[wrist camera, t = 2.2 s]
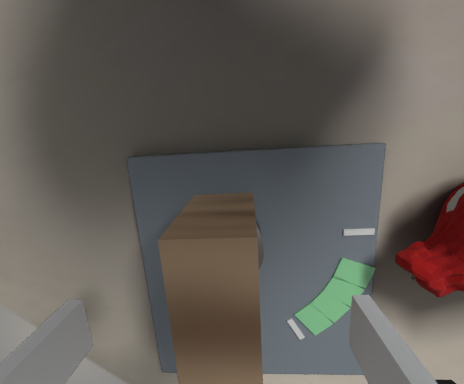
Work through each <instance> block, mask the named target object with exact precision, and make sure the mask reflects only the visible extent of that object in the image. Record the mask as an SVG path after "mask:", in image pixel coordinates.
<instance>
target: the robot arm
mask: <svg viewBox="0 0 464 384" xmlns="http://www.w3.org/2000/svg"><path fill="white" fill-rule="evenodd" d="M349 345H350V347H351V349H352V351H353V353H354V355H355V357H356V359H357V361H358V363H359V365H360V368H361V370H362V372H363V374H364V376H365V378H366V380H367V382H368V384H456V383H455V382H453V381H452V380H434V378H433V377H432V376H431V374H430V373H429V372H428V371H427V369H426V368H425V367H424V365H423V364H422V363H421V361H420V360H419V359H418V358H417V356H416V355H415V354H414V352H413V351H412V350H411V349H410V347H409V346H408V345H407V343H406V342H405V341H404V339H403V338H402V337H401V336H400V334H399V333H398V332H397V330H396V329H395V328H394V327H393V325H392V324H391V323H390V321H389V320H388V319H387V318H386V316H385V315H384V314H383V312H382V311H381V310H380V308H379V307H378V306H377V305H376V303H375V302H374V301H373V299H372V298H371V297H370V296H369V295H352V303H351V318H350V334H349ZM92 346H93V342H92V338H91V333H90V329H89V325H88V321H87V316H86V312H85V308H84V303H83V300H67V301H66V302H65V303H64V304H63V305H62V306H61V307H60V308H59V309H58V310H57V311H56V312H55V313H53V314H52V315H51V316H50V317H49V318H48V319H47V320H46V321H45V322H44V323H43V324H42V325H41V326H40V327H38V328H37V329H36V331H34V332H33V333H32V334H31V335H30V336H29V337H28V338H27V339H26V340H25V341H23V342H22V344H20V345H19V346H18V347H17V348H16V349H15V350H14V351H13V352H12V353H11V354H10V355H9V356H7V357H6V359H4V360H3V361H2V362H1V363H0V384H65V383H66V382H67V380H68V379H69V378H70V376H71V375H72V374H73V372H74V371H75V369H76V368H77V367H78V365H79V364H80V362H81V361H82V360H83V358H84V357H85V356H86V354H87V353H88V351H89V350H90V349H91V347H92Z"/></svg>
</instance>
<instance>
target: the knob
mask: <svg viewBox="0 0 464 384" xmlns="http://www.w3.org/2000/svg"><path fill="white" fill-rule="evenodd" d="M158 245H159V252H160V259H161V265H162V272H163V279H164V286H165V292H166V299H167V306H168V313H169V319H170V326H171V333H172V340H173V347H174V353H175V360H176V367H177V374H178V380H179V384H263V375H262V347H261V320H260V292H259V269H260V267H261V265H262V262H263V258H264V249H263V242H262V235H261V229H260V226H259V224H258V222H257V220H256V217H255V207H254V197H253V192H249V193H226V194H203V195H194V196H193V197H192V199H191V200H190V201H189V202H188V203H187V205H186V206H185V207H184V208H183V210H182V211H181V212H180V213H179V215H178V216H177V217H176V218H175V219H174V221H173V222H172V223H171V224H170V226H169V227H168V228H167V229H166V230H165V232H164V233H163V234H162V235H161V237H160V238H159V239H158Z"/></svg>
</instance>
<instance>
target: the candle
mask: <svg viewBox="0 0 464 384" xmlns="http://www.w3.org/2000/svg"><path fill="white" fill-rule="evenodd" d="M395 262H396V263H397V264H398V265H399V266H400V267H402V268H403V269H405V270H406V271H408V272H409V273H411V274H413V276H412V278H411V279H413V280H414V279H415V278H416V281H417V282H418V283H419V285H420V286H422V287H423V288H425V289H426V290H428V291H429V292H431V293H433V294H435V296H437V297H443V296H445V295H447V294H449V293H451V292H453V291H455V290H459V291H464V183H462V184H461V185H460V186H458V187H457V188H456V189H455V190H454V191H453V192H452V193H451V194H450V195H449V197H448V198H447V200H446V201H445V203H444V205H443V206H442V209H441V212H440V215H439V217H438V220H437V223H436V225H435V228H434V231H433V233H432V234H431V236H430V237H429V238H428V239H427V240H425V241H424V242H421V241H417V242H415V243H413V244H412V245H410V246H409V247H408V248H406V249H404V250H402V251H400V252H397V254H396V256H395Z"/></svg>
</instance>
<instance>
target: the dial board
mask: <svg viewBox="0 0 464 384" xmlns="http://www.w3.org/2000/svg"><path fill="white" fill-rule="evenodd" d="M385 147H386V144H385V143H364V144H346V145H328V146H310V147H293V148H275V149H257V150H239V151H221V152H203V153H185V154H167V155H149V156H133V157H128V158H126V160H127V166H128V172H129V178H130V184H131V190H132V196H133V202H134V208H135V214H136V220H137V226H138V232H139V238H140V244H141V250H142V256H143V262H144V268H145V274H146V280H147V286H148V292H149V298H150V304H151V310H152V315H153V321H154V327H155V333H156V339H157V345H158V351H159V357H160V363H161V369H162V372H168V373H177V367H176V360H175V353H174V347H173V340H172V333H171V326H170V319H169V313H168V306H167V299H166V292H165V286H164V279H163V272H162V265H161V259H160V252H159V245H158V239H159V238H160V237H161V235H162V234H163V233H164V232H165V230H166V229H167V228H168V227H169V226H170V224H171V223H172V222H173V221H174V219H175V218H176V217H177V216H178V215H179V213H180V212H181V211H182V210H183V208H184V207H185V206H186V205H187V203H188V202H189V201H190V200H191V199H192V197H193V196H194V195H203V194H226V193H249V192H253V197H254V207H255V217H256V220H257V222H258V224H259V226H260V229H261V235H262V242H263V249H264V258H263V262H262V265H261V267H260V269H259V292H260V320H261V347H262V374H327V375H364V374H363V372H362V370H361V368H360V365H359V363H358V361H357V359H356V357H355V355H354V353H353V351H352V349H351V347H350V345H349V334H350V318H351V303H352V295H369V296H370V297H371V293H372V283H373V273H374V272H375V270H376V268H375V267H374V262H375V251H376V241H377V231H378V220H379V210H380V199H381V189H382V178H383V168H384V158H385Z"/></svg>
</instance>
